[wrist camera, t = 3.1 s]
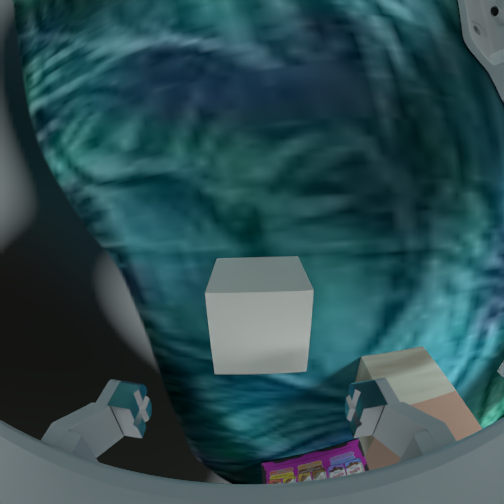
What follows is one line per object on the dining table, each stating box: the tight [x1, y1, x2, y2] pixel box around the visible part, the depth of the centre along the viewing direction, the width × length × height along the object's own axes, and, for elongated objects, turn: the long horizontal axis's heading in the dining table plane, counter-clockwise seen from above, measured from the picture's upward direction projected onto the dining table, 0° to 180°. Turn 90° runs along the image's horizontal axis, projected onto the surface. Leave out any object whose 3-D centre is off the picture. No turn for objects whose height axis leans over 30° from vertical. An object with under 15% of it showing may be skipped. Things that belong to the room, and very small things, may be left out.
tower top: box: [365, 391, 482, 470], centre depth 13 cm, size 6×6×6 cm
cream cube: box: [205, 256, 314, 374], centre depth 16 cm, size 5×5×5 cm
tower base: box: [355, 346, 456, 455], centre depth 18 cm, size 6×6×6 cm
